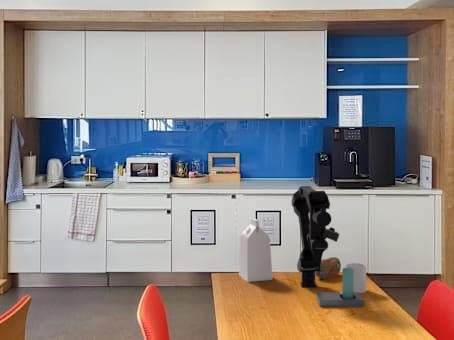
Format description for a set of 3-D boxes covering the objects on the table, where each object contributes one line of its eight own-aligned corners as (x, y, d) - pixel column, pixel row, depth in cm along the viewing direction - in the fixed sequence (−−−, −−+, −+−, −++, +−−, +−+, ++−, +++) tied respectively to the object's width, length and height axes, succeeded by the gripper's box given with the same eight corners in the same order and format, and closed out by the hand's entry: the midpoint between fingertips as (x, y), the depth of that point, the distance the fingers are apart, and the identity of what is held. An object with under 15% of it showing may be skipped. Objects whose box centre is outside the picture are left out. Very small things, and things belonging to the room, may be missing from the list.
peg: (341, 304, 218) (340, 269, 217) (344, 301, 222) (344, 267, 221) (351, 305, 216) (351, 270, 215) (355, 302, 219) (355, 268, 219)
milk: (272, 279, 256) (271, 220, 254) (247, 281, 253) (246, 222, 251) (263, 273, 267) (262, 216, 266) (238, 275, 264) (238, 218, 262)
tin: (319, 280, 253) (319, 261, 252) (314, 279, 255) (313, 260, 254) (341, 274, 263) (341, 256, 262) (335, 273, 265) (335, 255, 264)
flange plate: (316, 298, 225) (316, 292, 225) (358, 298, 225) (358, 291, 224) (319, 306, 215) (319, 299, 215) (363, 306, 215) (363, 299, 214)
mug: (368, 293, 232) (368, 267, 231) (348, 293, 231) (348, 267, 231) (360, 285, 244) (360, 260, 243) (341, 285, 244) (341, 260, 243)
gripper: (341, 226, 220) (341, 267, 221) (334, 218, 238) (334, 256, 239) (311, 226, 220) (312, 267, 221) (306, 219, 239) (306, 257, 240)
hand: (317, 262), depth 230 cm, fingers open, 9 cm apart
